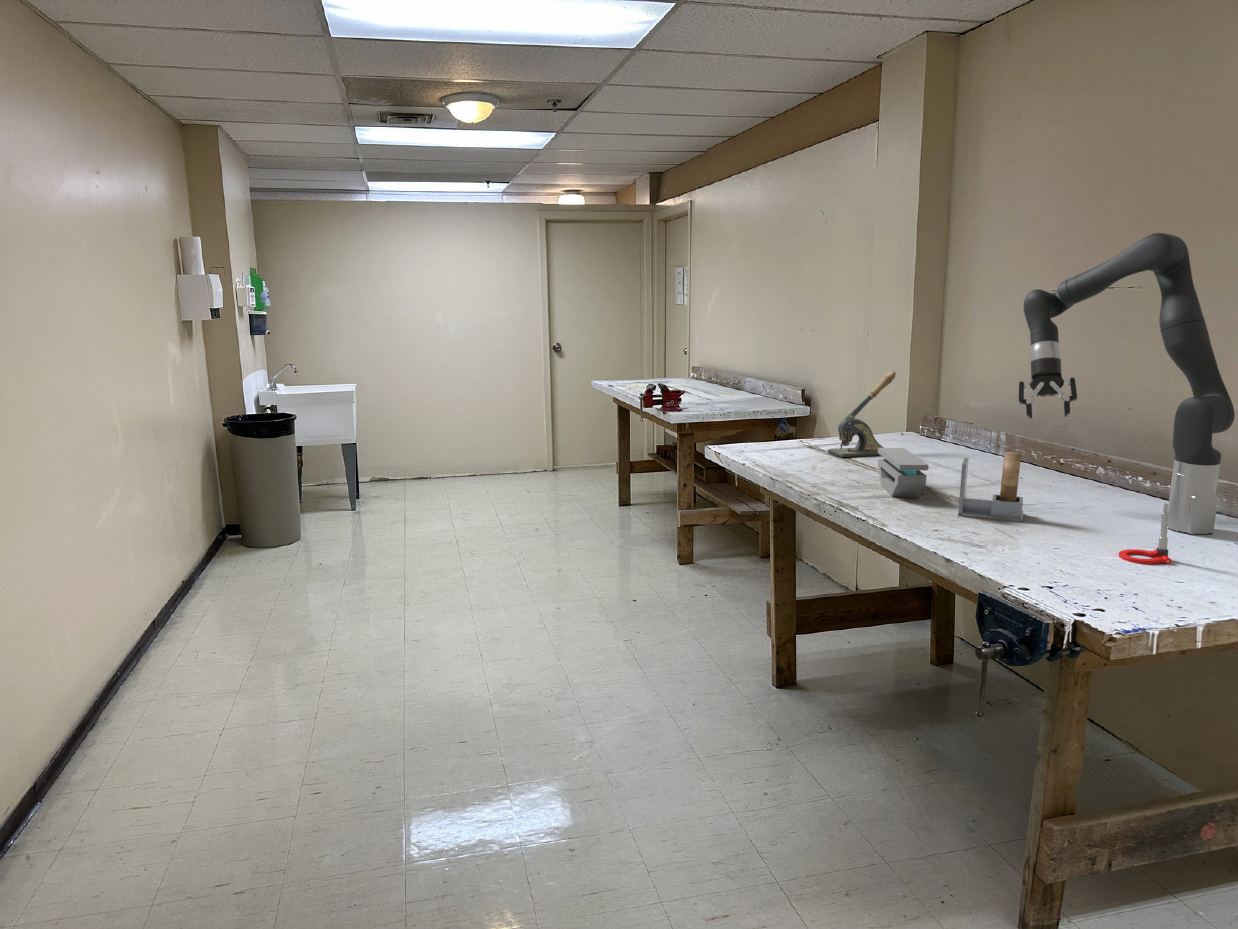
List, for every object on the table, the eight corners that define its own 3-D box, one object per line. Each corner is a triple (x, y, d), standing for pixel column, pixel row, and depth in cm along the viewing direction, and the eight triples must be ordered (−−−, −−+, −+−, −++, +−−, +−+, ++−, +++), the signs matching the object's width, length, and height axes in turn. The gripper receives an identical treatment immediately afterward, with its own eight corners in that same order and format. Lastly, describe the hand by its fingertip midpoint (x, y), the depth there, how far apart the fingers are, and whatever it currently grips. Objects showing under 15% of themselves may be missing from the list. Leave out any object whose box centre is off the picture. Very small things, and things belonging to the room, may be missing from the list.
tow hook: (1126, 565, 181) (1173, 566, 179) (1130, 508, 179) (1178, 508, 176) (1112, 553, 189) (1158, 554, 187) (1116, 499, 187) (1162, 499, 184)
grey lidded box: (925, 502, 233) (928, 464, 231) (897, 502, 234) (900, 464, 231) (901, 482, 258) (903, 447, 255) (876, 482, 258) (878, 447, 256)
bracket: (960, 507, 227) (964, 457, 224) (1023, 513, 221) (1027, 462, 218) (958, 515, 219) (962, 464, 216) (1022, 522, 213) (1027, 469, 210)
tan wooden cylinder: (1017, 515, 216) (1024, 455, 213) (1002, 515, 216) (1009, 455, 213) (1009, 511, 220) (1016, 452, 217) (995, 511, 220) (1001, 452, 217)
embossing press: (825, 453, 304) (829, 371, 297) (884, 449, 309) (888, 369, 302) (839, 458, 293) (843, 374, 287) (900, 455, 298) (905, 372, 292)
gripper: (1016, 359, 229) (1019, 415, 226) (1075, 353, 222) (1078, 412, 220) (1017, 366, 235) (1019, 421, 233) (1074, 361, 229) (1077, 418, 226)
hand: (1048, 417), depth 226 cm, fingers open, 8 cm apart
